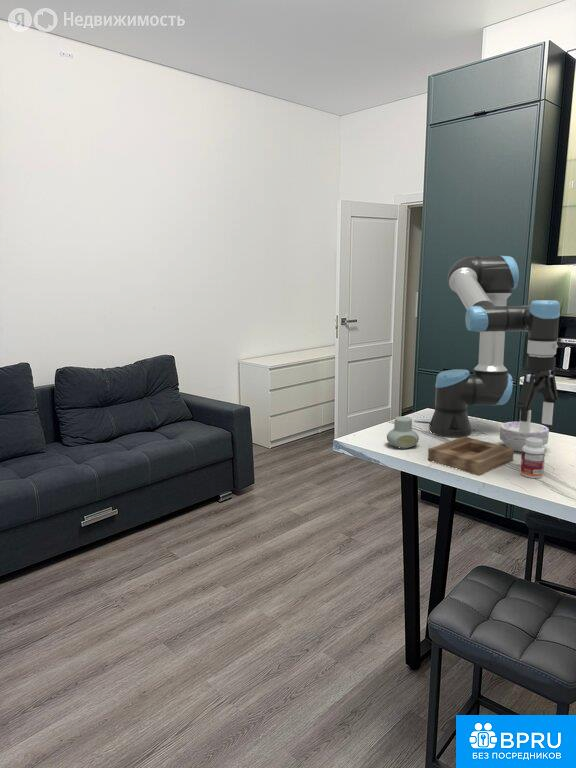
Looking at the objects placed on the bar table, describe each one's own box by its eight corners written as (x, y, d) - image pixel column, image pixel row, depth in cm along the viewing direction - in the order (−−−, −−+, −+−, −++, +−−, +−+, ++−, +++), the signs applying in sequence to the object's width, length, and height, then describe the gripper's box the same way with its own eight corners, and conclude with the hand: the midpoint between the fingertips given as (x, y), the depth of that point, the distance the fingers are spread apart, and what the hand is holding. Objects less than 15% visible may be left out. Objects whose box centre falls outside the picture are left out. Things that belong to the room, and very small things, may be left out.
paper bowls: (509, 439, 197) (510, 418, 196) (553, 448, 187) (555, 425, 185) (491, 449, 186) (492, 426, 185) (537, 459, 176) (539, 435, 175)
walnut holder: (428, 460, 176) (428, 448, 175) (463, 447, 188) (463, 436, 188) (478, 475, 162) (479, 462, 161) (513, 460, 175) (513, 448, 174)
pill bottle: (524, 469, 167) (527, 435, 164) (545, 474, 162) (549, 438, 160) (516, 475, 162) (519, 439, 160) (538, 480, 158) (541, 443, 156)
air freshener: (390, 450, 186) (391, 422, 184) (383, 443, 194) (384, 415, 192) (421, 449, 187) (422, 420, 185) (413, 441, 195) (414, 414, 193)
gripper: (533, 361, 145) (527, 438, 148) (574, 352, 160) (568, 423, 164) (506, 358, 150) (501, 433, 154) (548, 350, 166) (543, 418, 170)
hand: (535, 428), depth 159 cm, fingers open, 13 cm apart
